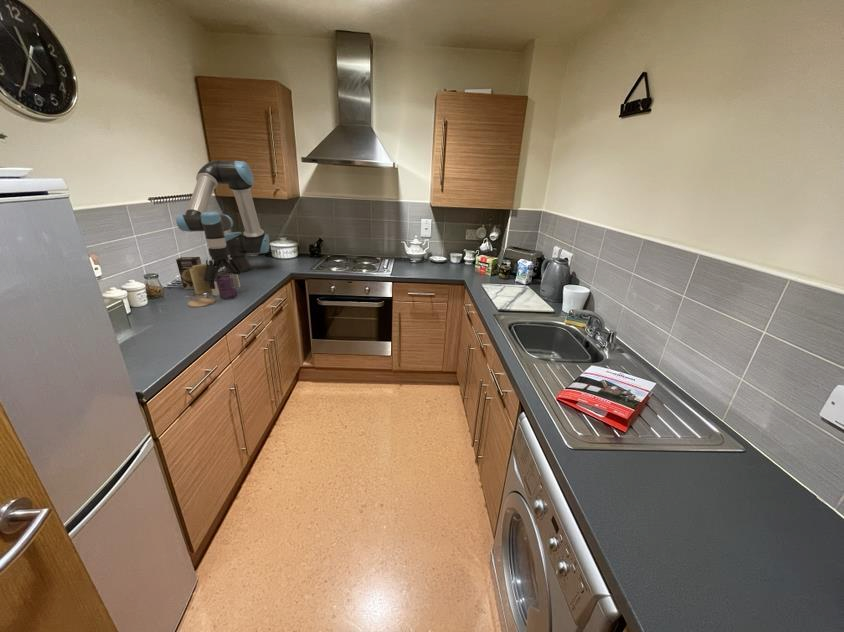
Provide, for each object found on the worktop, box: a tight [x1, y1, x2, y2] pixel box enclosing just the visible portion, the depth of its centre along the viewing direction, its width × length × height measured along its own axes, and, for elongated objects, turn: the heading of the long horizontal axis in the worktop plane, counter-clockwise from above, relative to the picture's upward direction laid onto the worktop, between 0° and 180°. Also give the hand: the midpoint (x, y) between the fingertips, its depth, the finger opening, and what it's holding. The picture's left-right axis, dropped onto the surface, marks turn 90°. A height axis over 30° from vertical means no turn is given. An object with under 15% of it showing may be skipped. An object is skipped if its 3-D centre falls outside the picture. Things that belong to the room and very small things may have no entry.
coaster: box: [187, 297, 216, 308], centre depth 151 cm, size 11×11×1 cm
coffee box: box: [175, 256, 202, 291], centre depth 168 cm, size 9×6×16 cm
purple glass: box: [215, 271, 238, 300], centre depth 156 cm, size 7×7×12 cm
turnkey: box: [189, 260, 229, 294], centre depth 163 cm, size 3×20×14 cm, turn 143°
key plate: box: [184, 289, 220, 300], centre depth 161 cm, size 12×12×1 cm
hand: (227, 290), depth 157 cm, fingers open, 13 cm apart
